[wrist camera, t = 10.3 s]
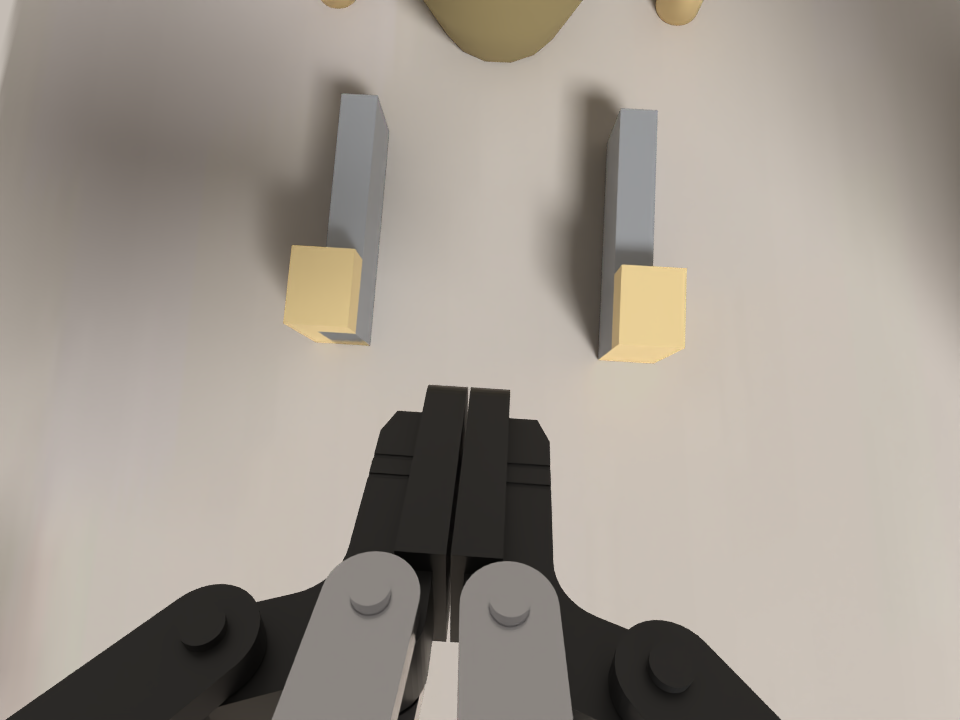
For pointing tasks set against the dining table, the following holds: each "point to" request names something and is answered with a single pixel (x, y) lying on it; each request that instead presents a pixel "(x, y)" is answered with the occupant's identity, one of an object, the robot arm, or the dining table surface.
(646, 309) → the wooden post frame
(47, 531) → the dining table surface
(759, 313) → the dining table surface
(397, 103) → the dining table surface
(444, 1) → the squeeze bottle
